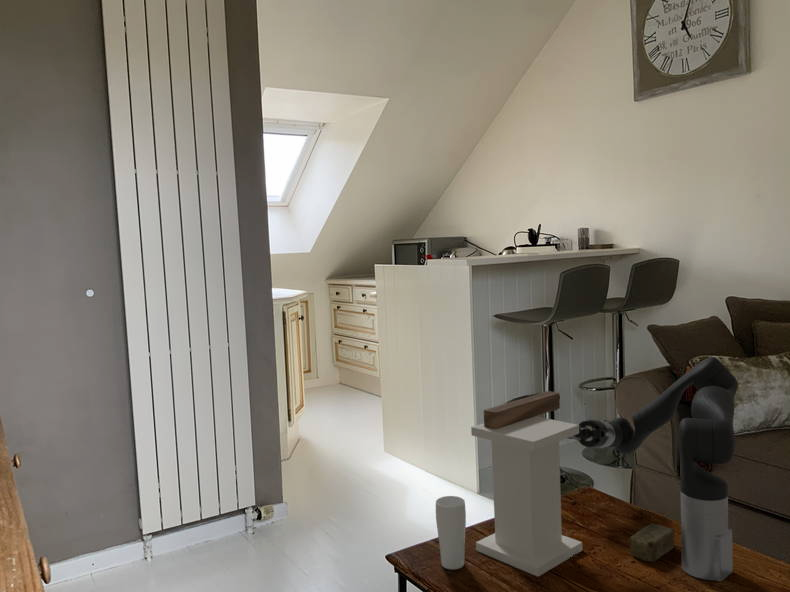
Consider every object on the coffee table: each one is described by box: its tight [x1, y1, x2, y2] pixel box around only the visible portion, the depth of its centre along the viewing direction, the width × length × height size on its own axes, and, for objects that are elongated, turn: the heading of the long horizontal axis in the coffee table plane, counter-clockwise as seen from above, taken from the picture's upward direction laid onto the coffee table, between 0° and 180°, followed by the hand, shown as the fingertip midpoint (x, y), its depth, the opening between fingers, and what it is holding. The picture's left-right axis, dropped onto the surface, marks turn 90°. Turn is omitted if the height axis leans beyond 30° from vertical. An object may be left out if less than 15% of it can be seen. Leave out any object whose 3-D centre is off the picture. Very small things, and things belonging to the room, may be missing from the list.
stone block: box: [629, 522, 675, 563], centre depth 151 cm, size 6×12×5 cm, turn 132°
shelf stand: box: [470, 416, 583, 578], centre depth 154 cm, size 18×17×30 cm
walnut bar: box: [483, 390, 561, 429], centre depth 160 cm, size 4×25×4 cm, turn 131°
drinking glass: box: [435, 495, 467, 571], centre depth 149 cm, size 7×7×15 cm
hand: (566, 432), depth 171 cm, fingers open, 8 cm apart
